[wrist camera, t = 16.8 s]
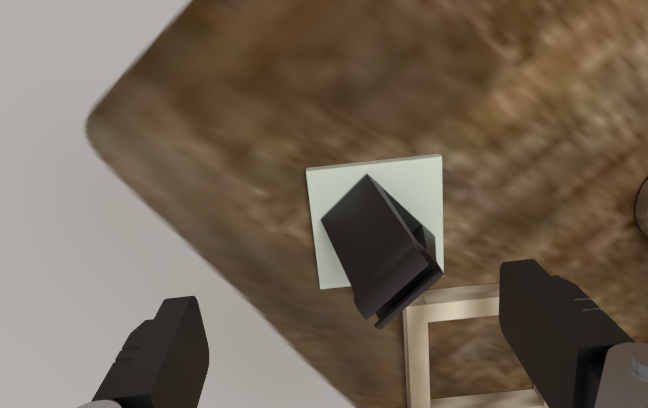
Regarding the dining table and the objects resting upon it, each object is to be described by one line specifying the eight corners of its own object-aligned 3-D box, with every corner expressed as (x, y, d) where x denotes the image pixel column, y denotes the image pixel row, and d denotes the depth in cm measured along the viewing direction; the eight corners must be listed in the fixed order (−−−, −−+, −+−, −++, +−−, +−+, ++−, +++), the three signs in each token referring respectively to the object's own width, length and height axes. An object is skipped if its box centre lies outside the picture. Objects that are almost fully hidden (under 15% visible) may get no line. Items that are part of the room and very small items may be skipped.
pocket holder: (561, 276, 47) (574, 289, 45) (550, 401, 53) (561, 418, 51) (401, 292, 47) (406, 306, 45) (407, 415, 53) (412, 433, 51)
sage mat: (439, 153, 42) (441, 156, 41) (440, 271, 47) (443, 276, 46) (305, 168, 42) (305, 171, 41) (320, 283, 47) (320, 289, 46)
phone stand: (434, 235, 44) (477, 307, 33) (387, 276, 45) (413, 359, 34) (367, 172, 42) (388, 226, 30) (320, 218, 43) (324, 285, 32)
